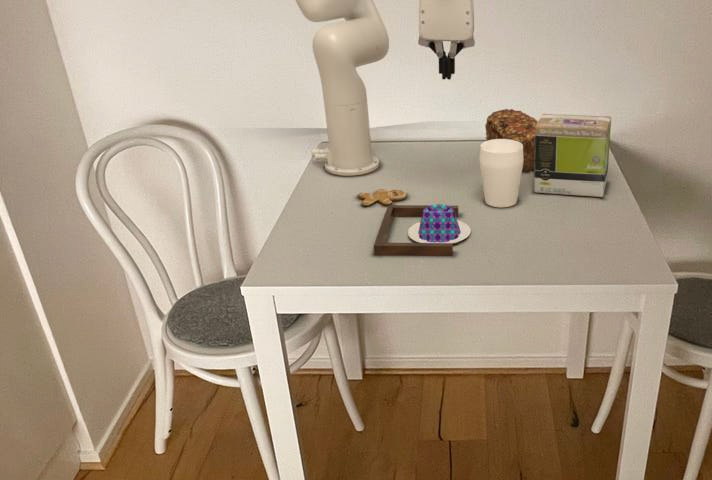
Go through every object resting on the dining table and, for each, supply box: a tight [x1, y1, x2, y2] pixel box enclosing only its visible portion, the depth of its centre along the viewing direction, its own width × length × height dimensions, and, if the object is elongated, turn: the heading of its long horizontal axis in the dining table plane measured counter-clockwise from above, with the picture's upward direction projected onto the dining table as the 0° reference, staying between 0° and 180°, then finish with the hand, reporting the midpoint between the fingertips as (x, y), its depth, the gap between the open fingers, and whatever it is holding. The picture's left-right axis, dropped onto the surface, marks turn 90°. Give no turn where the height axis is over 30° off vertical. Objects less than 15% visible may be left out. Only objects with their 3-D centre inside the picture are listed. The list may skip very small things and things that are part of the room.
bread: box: [484, 108, 539, 173], centre depth 178 cm, size 19×11×10 cm, turn 20°
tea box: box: [533, 113, 612, 198], centre depth 161 cm, size 15×10×15 cm, turn 77°
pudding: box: [407, 203, 471, 244], centre depth 144 cm, size 12×12×5 cm
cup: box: [478, 139, 524, 209], centre depth 155 cm, size 9×9×12 cm
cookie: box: [357, 188, 407, 207], centre depth 160 cm, size 8×1×10 cm
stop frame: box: [373, 204, 460, 257], centre depth 145 cm, size 14×18×2 cm
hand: (446, 77), depth 147 cm, fingers closed
